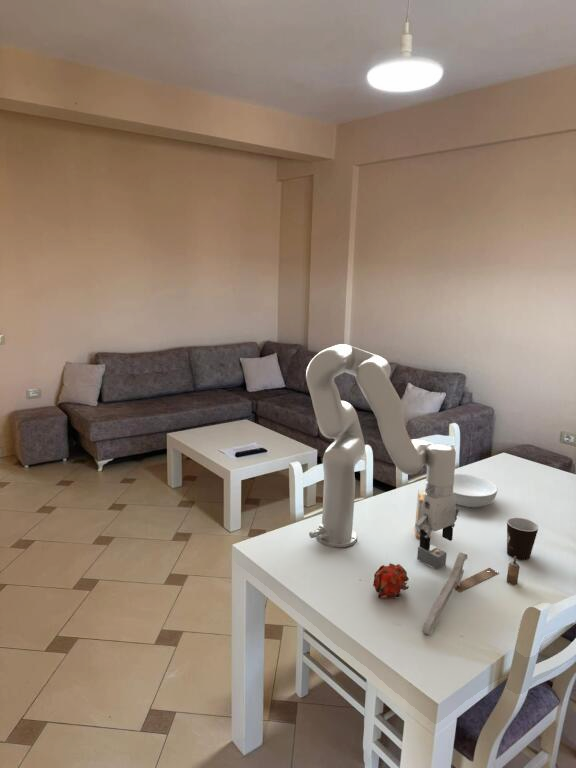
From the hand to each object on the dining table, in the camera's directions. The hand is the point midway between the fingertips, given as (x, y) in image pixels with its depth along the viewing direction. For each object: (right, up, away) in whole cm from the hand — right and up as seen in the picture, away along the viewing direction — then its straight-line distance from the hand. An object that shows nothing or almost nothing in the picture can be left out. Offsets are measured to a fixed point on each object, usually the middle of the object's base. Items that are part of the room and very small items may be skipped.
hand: (436, 543), depth 156 cm
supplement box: (+1, -2, +18) cm, 18 cm away
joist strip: (+9, -8, -7) cm, 14 cm away
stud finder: (-1, -6, +1) cm, 6 cm away
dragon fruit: (-16, -9, -15) cm, 24 cm away
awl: (+19, -8, -7) cm, 22 cm away
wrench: (-3, -10, -18) cm, 21 cm away
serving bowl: (+22, +3, +43) cm, 48 cm away
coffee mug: (+27, -5, +8) cm, 29 cm away
